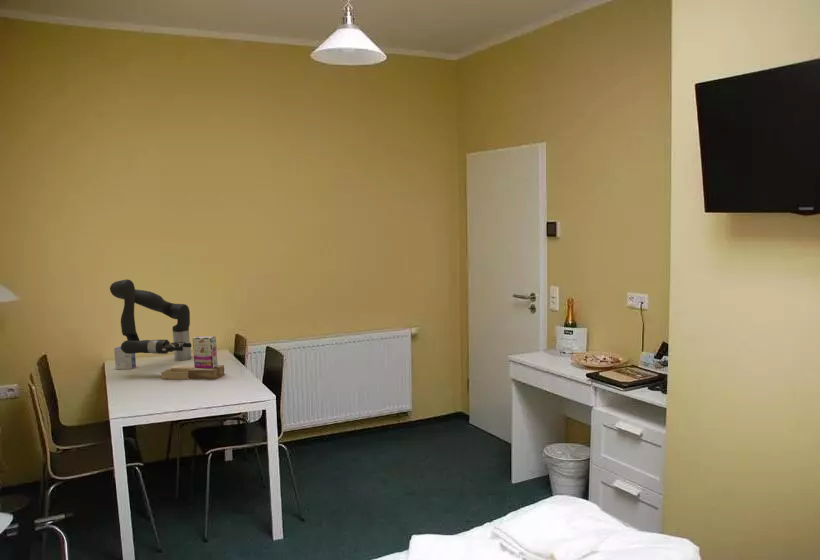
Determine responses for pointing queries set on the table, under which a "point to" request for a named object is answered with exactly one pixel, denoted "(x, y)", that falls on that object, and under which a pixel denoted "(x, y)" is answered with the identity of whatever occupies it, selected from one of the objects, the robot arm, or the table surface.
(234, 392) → the table surface
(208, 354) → the candy bar box
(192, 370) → the stand
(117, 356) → the ink cartridge box
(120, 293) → the robot arm
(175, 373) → the light wooden frame
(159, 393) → the table surface
